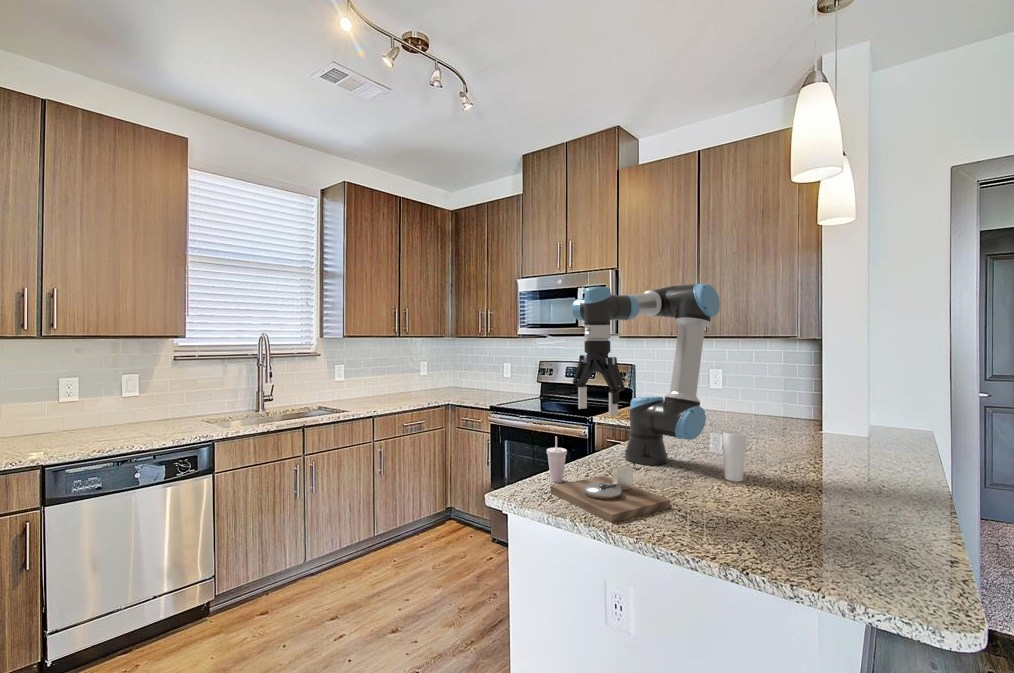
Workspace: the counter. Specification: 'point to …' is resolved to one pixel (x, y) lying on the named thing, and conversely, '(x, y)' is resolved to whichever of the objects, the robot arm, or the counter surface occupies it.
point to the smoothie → (556, 462)
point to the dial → (608, 490)
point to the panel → (611, 500)
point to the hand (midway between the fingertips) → (597, 411)
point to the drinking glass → (734, 455)
